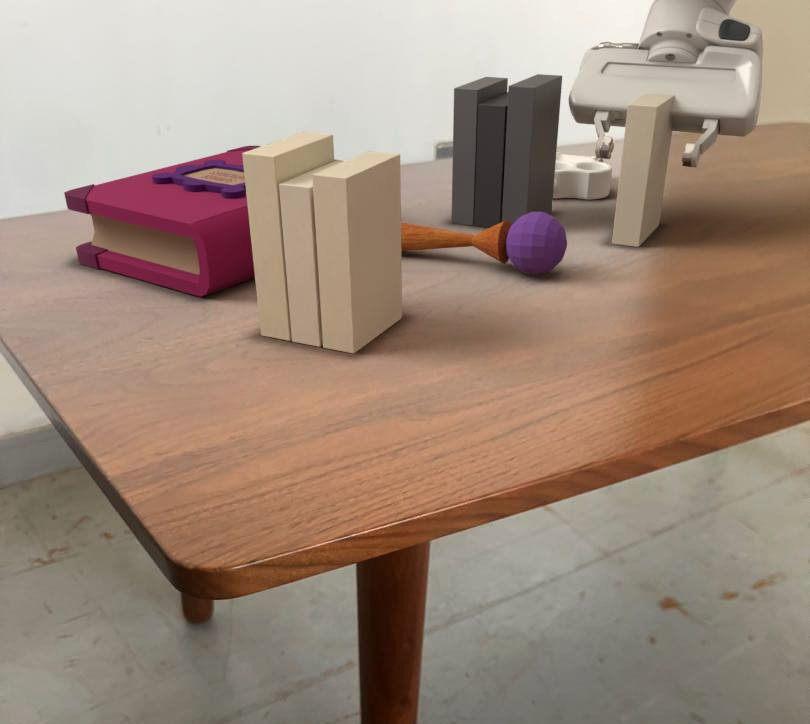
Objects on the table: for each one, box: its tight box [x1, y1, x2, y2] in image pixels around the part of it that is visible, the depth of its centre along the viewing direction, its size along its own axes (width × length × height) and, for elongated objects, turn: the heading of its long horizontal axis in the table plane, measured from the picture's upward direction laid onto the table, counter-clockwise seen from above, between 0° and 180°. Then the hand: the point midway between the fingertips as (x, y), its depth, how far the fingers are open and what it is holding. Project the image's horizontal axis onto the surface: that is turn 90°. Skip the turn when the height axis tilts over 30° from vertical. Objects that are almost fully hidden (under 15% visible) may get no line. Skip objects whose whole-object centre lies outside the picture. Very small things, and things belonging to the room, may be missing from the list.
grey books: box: [451, 73, 563, 229], centre depth 105 cm, size 9×9×15 cm
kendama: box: [401, 212, 568, 276], centre depth 94 cm, size 6×6×20 cm
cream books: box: [242, 131, 403, 354], centre depth 77 cm, size 9×9×15 cm
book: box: [63, 145, 342, 298], centre depth 99 cm, size 21×28×8 cm
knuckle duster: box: [553, 151, 613, 201], centre depth 121 cm, size 3×18×15 cm
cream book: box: [611, 93, 674, 248], centre depth 100 cm, size 3×9×14 cm, turn 153°
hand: (644, 159), depth 99 cm, fingers open, 8 cm apart
